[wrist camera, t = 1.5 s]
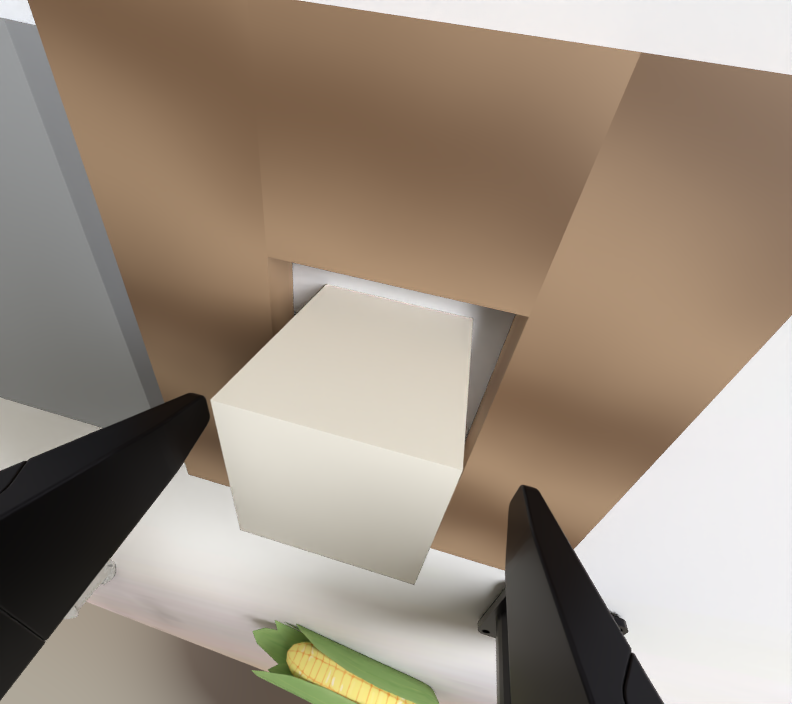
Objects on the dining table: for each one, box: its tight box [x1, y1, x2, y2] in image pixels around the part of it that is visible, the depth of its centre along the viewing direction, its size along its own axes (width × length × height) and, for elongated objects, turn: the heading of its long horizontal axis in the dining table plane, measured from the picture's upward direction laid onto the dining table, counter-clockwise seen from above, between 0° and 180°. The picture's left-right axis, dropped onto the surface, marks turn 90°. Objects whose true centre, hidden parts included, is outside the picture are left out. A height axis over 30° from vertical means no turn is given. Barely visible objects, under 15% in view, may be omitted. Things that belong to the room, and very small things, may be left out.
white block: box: [210, 284, 473, 585], centre depth 10 cm, size 5×5×6 cm
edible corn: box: [252, 620, 439, 704], centre depth 31 cm, size 5×20×5 cm
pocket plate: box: [28, 0, 792, 570], centre depth 12 cm, size 18×18×2 cm
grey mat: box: [0, 18, 164, 428], centre depth 14 cm, size 16×11×1 cm
